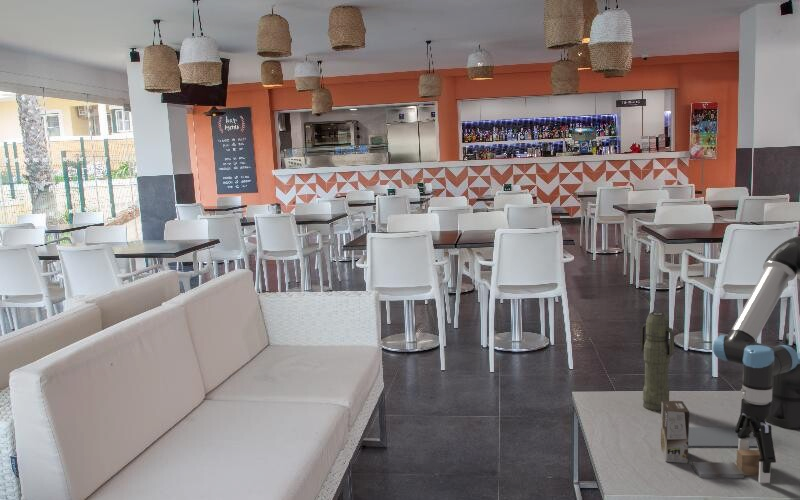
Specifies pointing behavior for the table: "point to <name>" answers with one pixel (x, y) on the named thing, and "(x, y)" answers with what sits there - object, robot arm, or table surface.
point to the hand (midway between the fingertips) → (753, 470)
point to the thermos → (656, 359)
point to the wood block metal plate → (730, 466)
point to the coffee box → (674, 431)
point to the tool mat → (714, 437)
